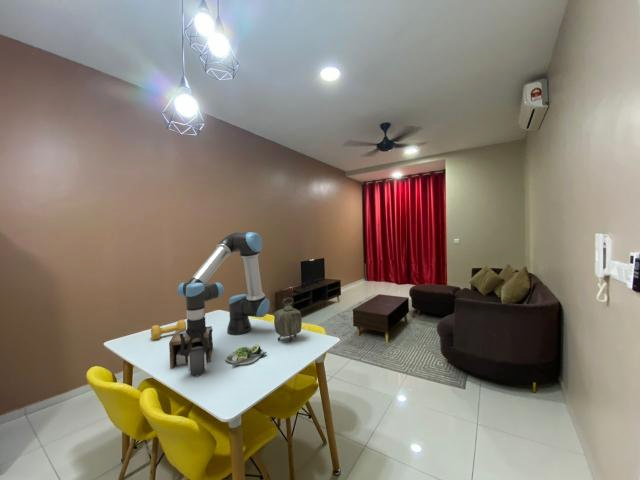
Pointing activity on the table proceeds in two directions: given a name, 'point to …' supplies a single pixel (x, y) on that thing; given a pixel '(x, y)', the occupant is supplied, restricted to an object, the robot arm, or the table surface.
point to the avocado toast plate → (245, 355)
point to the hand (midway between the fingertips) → (197, 367)
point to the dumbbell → (166, 329)
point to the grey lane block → (180, 358)
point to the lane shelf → (176, 345)
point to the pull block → (197, 361)
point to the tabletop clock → (287, 321)
